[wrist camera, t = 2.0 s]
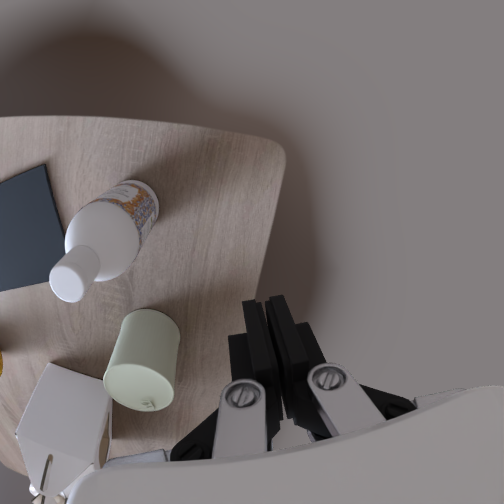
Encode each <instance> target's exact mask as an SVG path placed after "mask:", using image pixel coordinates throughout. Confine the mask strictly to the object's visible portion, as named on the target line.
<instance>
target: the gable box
mask: <svg viewBox="0 0 504 504" xmlns="http://www.w3.org/2000/svg"><path fill="white" fill-rule="evenodd" d="M15 435H16V437H17V439H18V442H19V446H20V449H21V453H22V456H23V460H24V463H25V466H26V469H27V472H28V475H29V478H30V481H31V484H32V486H33V487H34V489H35V490H36V491H37V492H38V493H39V494H38V495H37V496H36V497H35V498H34V499H33V500H32V502H33V503H34V504H66V503H67V500H68V497H69V495H70V492H71V490H72V488H73V487H74V485H75V483H76V482H77V481H78V480H79V479H80V478H82V477H83V476H85V475H87V474H89V473H91V472H94V471H96V470H100V469H102V467H103V465H104V464H105V463H106V462H107V461H108V458H109V452H110V447H111V442H112V397H111V396H110V395H109V394H108V392H107V391H106V389H105V387H104V383H103V380H99V379H96V378H93V377H90V376H87V375H84V374H81V373H78V372H75V371H72V370H69V369H66V368H63V367H60V366H58V365H55V364H52V363H50V362H49V363H47V365H46V367H45V369H44V371H43V373H42V375H41V377H40V379H39V381H38V383H37V385H36V387H35V389H34V391H33V393H32V396H31V398H30V400H29V402H28V404H27V406H26V409H25V411H24V413H23V415H22V418H21V420H20V422H19V425H18V427H17V430H16V432H15Z"/></svg>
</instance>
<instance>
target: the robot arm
mask: <svg viewBox="0 0 504 504" xmlns="http://www.w3.org/2000/svg"><path fill="white" fill-rule="evenodd" d="M269 299H270V301H265V307H266V316H267V323H266V319H265V315H264V311H263V308H262V304H261V302H258V303H256V301H255V299H254V300H248V301H242V306H243V312H244V318H245V324H246V330H247V333H243V334H236V335H230V336H228V342H229V353H230V364H231V375H232V382H231V383H229V384H228V385H226V386H225V388H224V389H223V390H222V393H221V396H220V403H219V408H218V409H216V410H215V411H214V412H213V413H212V414H211V415H210V416H209V417H208V418H206V419H205V420H204V421H203V422H202V423H201V424H200V425H198V426H197V427H196V428H195V429H194V430H193V431H191V432H190V433H189V434H188V435H187V436H186V437H184V438H183V439H182V440H181V441H180V442H178V443H177V444H176V445H175V446H174V447H173V449H172V450H168V451H165V450H164V449H160V450H155V451H150V452H145V453H140V454H135V455H129V456H123V457H117V458H113V459H110V460H108V461H107V462H106V463H105V464H104V465H103V467H102V469H100V470H96V471H94V472H91V473H89V474H87V475H85V476H83V477H82V478H80V479H79V480H78V481H77V482H76V483H75V485H74V487H73V488H72V490H71V492H70V495H69V497H68V500H67V503H66V504H504V387H502V386H484V387H477V388H472V389H469V390H466V389H462V388H460V389H453V390H449V391H444V392H440V393H435V394H430V395H425V396H420V397H415V398H414V400H413V401H409V400H408V399H405V398H403V397H400V396H396V395H393V394H389V393H386V392H383V391H379V390H376V389H373V388H370V387H367V386H364V385H361V384H358V383H357V381H356V380H355V379H354V377H353V376H352V375H351V374H350V372H349V371H348V370H347V369H346V368H345V367H344V366H342V365H340V364H336V363H327V362H326V360H325V358H324V356H323V353H322V351H321V349H320V347H319V345H318V343H317V340H316V338H315V336H314V334H313V332H312V330H311V328H310V325H309V324H308V322H304V323H300V324H295V323H294V321H293V318H292V316H291V313H290V311H289V308H288V306H287V303H286V301H285V298H284V296H283V295H278V296H272V297H269ZM267 325H268V326H267ZM281 396H282V399H283V404H284V407H285V411H286V415H287V418H288V419H291V418H293V421H294V424H295V425H298V426H300V427H302V428H304V429H307V433H308V436H309V438H310V440H311V442H312V443H309V444H305V445H300V446H296V447H291V448H285V449H280V450H275V451H273V441H272V438H273V437H274V436H275V435H276V434H277V432H278V431H279V430H280V420H283V411H282V399H281Z"/></svg>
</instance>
